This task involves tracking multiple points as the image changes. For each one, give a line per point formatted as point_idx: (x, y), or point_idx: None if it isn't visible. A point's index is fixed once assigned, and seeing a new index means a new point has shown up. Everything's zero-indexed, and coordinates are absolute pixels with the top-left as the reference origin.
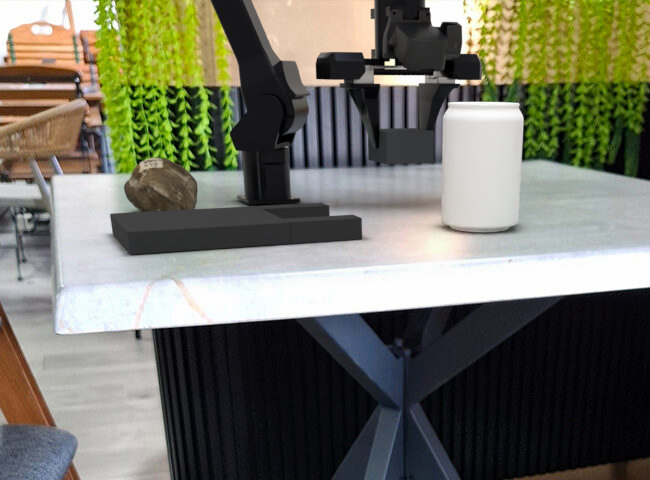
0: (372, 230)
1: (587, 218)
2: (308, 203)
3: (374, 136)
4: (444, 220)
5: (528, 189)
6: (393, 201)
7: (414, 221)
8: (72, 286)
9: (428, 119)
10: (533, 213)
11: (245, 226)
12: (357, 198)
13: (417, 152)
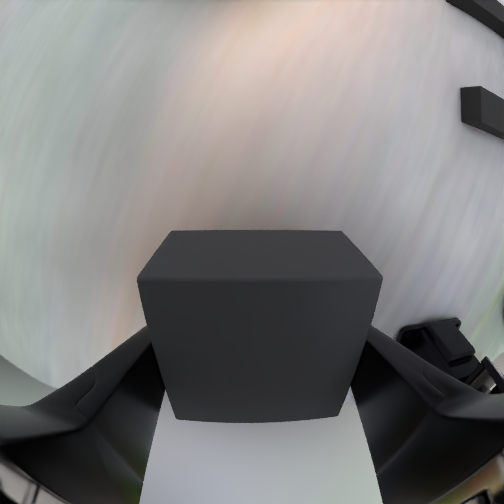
0: (418, 11)
1: (31, 20)
2: (496, 126)
3: (377, 330)
4: None
5: (14, 334)
6: None
7: (324, 35)
8: None
9: (132, 370)
10: (57, 70)
11: None
12: None
13: (229, 241)
